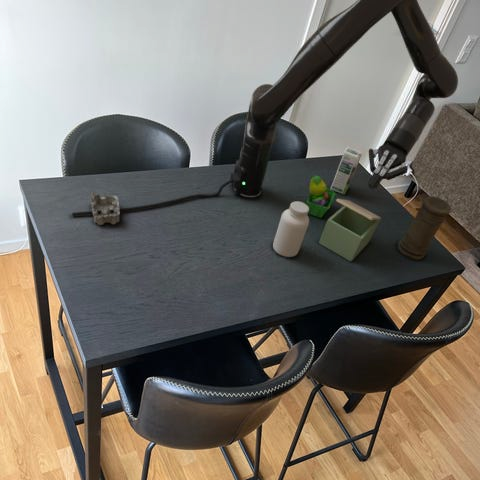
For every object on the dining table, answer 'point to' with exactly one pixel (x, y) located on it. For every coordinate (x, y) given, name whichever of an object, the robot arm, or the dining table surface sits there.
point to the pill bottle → (291, 229)
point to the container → (424, 227)
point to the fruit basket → (319, 197)
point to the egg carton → (105, 209)
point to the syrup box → (346, 170)
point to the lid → (358, 209)
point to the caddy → (347, 232)
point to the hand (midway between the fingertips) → (370, 187)
